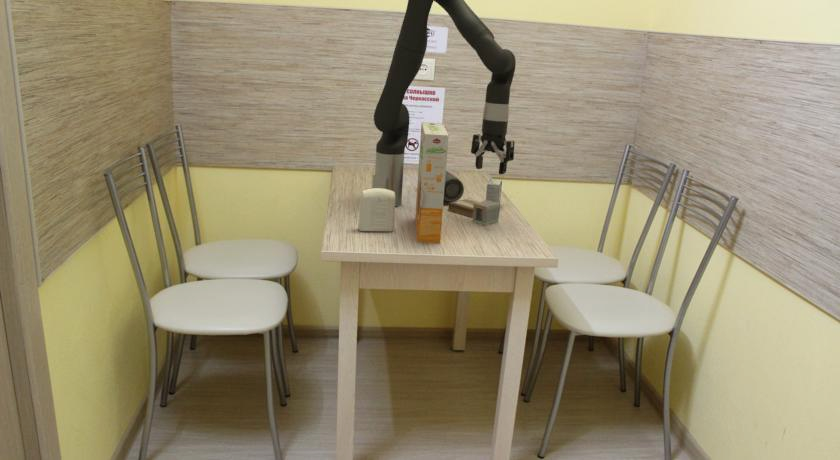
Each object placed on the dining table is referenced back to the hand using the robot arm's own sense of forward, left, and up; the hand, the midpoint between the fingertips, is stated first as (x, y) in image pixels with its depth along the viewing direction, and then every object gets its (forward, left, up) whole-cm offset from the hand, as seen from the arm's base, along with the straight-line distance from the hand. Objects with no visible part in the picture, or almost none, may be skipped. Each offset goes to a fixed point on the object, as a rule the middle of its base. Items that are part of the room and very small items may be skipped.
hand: (490, 171), depth 206 cm
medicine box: (+18, +10, -16) cm, 26 cm away
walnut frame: (+6, +10, -16) cm, 20 cm away
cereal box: (-22, +5, -16) cm, 28 cm away
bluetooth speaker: (+12, +29, -16) cm, 35 cm away
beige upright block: (-34, +14, -16) cm, 40 cm away
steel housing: (0, 0, -16) cm, 16 cm away
